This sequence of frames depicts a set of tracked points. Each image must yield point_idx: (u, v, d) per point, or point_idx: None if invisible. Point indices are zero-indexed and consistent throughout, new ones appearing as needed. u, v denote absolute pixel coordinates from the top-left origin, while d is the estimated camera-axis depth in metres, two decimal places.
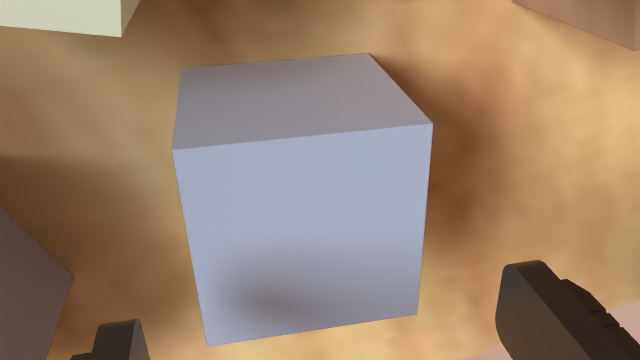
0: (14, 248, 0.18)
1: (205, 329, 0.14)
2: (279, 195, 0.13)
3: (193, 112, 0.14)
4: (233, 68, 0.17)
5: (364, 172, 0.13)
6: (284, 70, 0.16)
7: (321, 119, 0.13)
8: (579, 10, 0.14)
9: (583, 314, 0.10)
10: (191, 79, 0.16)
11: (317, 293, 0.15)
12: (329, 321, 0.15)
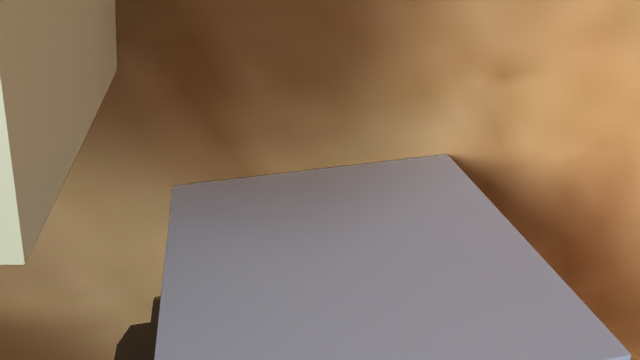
0: None
1: None
2: None
3: (189, 308, 0.08)
4: (251, 189, 0.11)
5: None
6: (331, 195, 0.11)
7: (419, 335, 0.07)
8: None
9: None
10: (186, 215, 0.10)
11: None
12: None
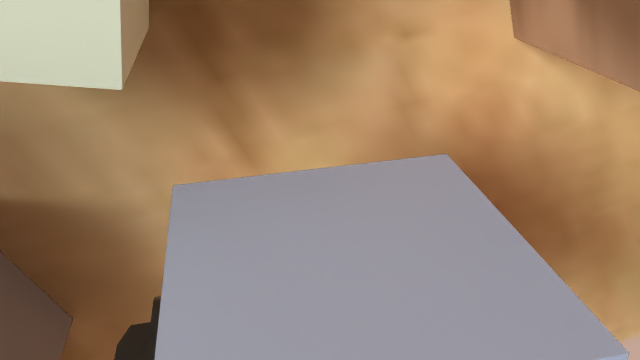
0: (12, 293, 0.17)
1: None
2: None
3: (188, 307, 0.08)
4: (251, 188, 0.11)
5: None
6: (331, 195, 0.11)
7: (418, 333, 0.07)
8: (584, 49, 0.14)
9: None
10: (186, 213, 0.10)
11: None
12: None
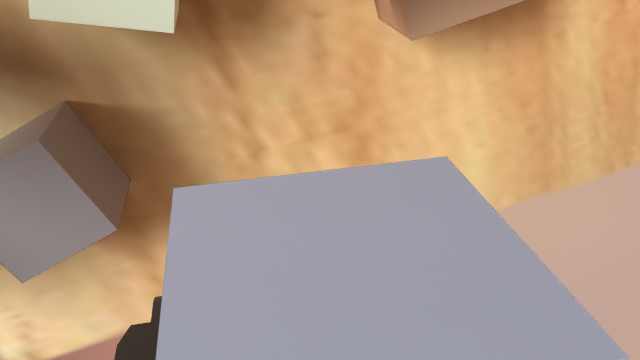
0: (102, 156, 0.31)
1: None
2: None
3: (190, 311, 0.08)
4: (251, 191, 0.11)
5: None
6: (331, 198, 0.11)
7: (418, 338, 0.07)
8: (396, 22, 0.28)
9: None
10: (187, 217, 0.10)
11: None
12: None
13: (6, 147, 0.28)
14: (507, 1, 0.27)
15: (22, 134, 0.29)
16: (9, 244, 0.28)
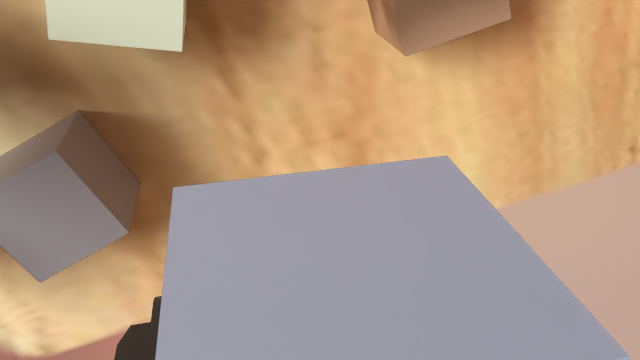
0: (113, 162, 0.33)
1: None
2: None
3: (189, 311, 0.08)
4: (252, 190, 0.11)
5: None
6: (331, 197, 0.11)
7: (419, 337, 0.07)
8: (391, 37, 0.30)
9: None
10: (187, 216, 0.10)
11: None
12: None
13: (24, 155, 0.30)
14: (495, 19, 0.29)
15: (39, 143, 0.31)
16: (29, 247, 0.30)
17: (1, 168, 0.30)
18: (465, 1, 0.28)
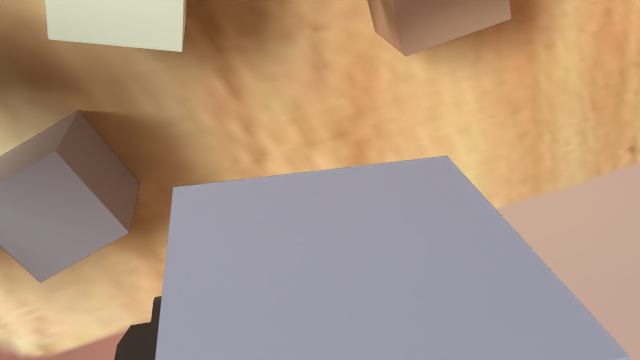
0: (113, 162, 0.33)
1: None
2: None
3: (189, 311, 0.08)
4: (252, 190, 0.11)
5: None
6: (331, 197, 0.11)
7: (419, 337, 0.07)
8: (391, 37, 0.30)
9: None
10: (187, 216, 0.10)
11: None
12: None
13: (24, 155, 0.30)
14: (495, 19, 0.29)
15: (39, 143, 0.31)
16: (29, 247, 0.30)
17: (1, 168, 0.30)
18: (465, 1, 0.28)
